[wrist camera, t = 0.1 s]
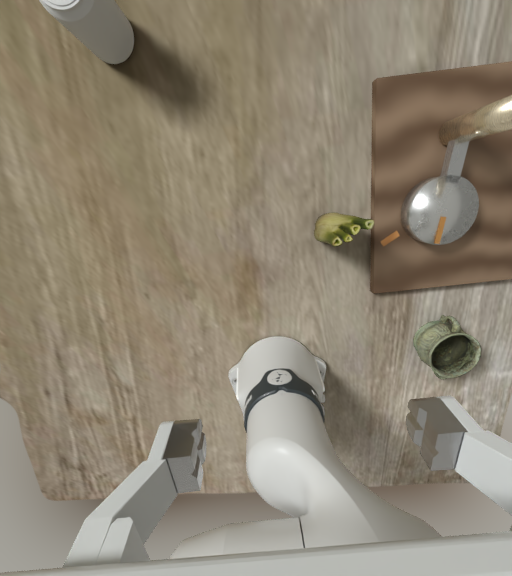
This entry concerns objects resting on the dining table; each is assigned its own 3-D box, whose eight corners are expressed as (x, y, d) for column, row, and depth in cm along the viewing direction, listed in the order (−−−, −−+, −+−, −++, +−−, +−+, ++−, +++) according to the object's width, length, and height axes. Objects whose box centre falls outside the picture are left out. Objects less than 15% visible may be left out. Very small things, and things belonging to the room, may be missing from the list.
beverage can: (142, 61, 40) (98, 5, 29) (99, 71, 40) (38, 20, 29) (127, 5, 38) (74, -78, 27) (82, 17, 39) (10, -61, 27)
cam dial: (454, 244, 46) (520, 258, 35) (394, 240, 46) (441, 253, 35) (487, 122, 41) (577, 92, 30) (420, 117, 41) (485, 84, 30)
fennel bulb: (346, 211, 46) (377, 214, 35) (345, 241, 48) (374, 253, 36) (311, 213, 46) (330, 216, 35) (311, 242, 48) (329, 256, 36)
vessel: (415, 309, 52) (436, 323, 46) (463, 309, 52) (491, 323, 46) (404, 366, 55) (423, 386, 49) (449, 366, 55) (473, 387, 49)
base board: (506, 276, 50) (514, 278, 48) (370, 291, 50) (374, 293, 49) (540, 61, 41) (551, 56, 39) (372, 82, 41) (377, 77, 40)
